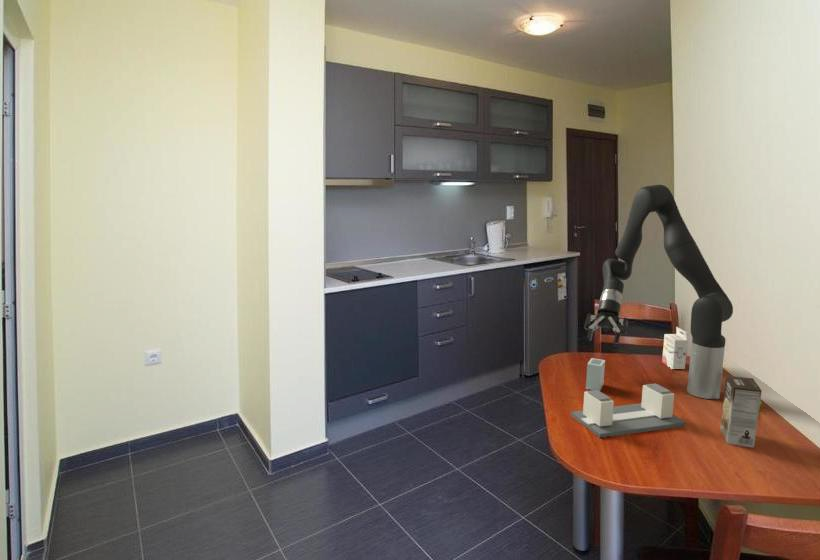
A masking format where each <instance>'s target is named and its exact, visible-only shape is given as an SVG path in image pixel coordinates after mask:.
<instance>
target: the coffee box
mask: <svg viewBox="0 0 820 560" xmlns="http://www.w3.org/2000/svg"><path fill="white" fill-rule="evenodd" d="M724 387H725V388H724V393H723V395H724V396H723V403H722V412H721V419H720V420H721V421H720V430H721V433H722V435H723V437H724V439H725V442H726V443H727V444H728V445H734V446H740V447H747V448H752V449H754V448H755V443H756V437H757V427H758V422H759V421H758V420H759V415H760V414H759V413H760V406H761V401H762V400H761V399H762V392H763V391H762V389H761V388H760V386H759V384H758V383H757V382H756V380H755V379H754V378H752V377H743V376H742V377H741V376H731V375H726V379H725V386H724Z"/></svg>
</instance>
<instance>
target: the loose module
mask: <svg viewBox="0 0 820 560" xmlns="http://www.w3.org/2000/svg"><path fill="white" fill-rule="evenodd" d="M605 366H606V360H605V359H601V358H594V357H590V360H589V361H588V362H587V365H586V377H585V378H586V381H585V382H586V383H585V389H586V390H588V389H590V390H589V391H592V390H598V391H600V392H601V390H602V389H603V386H604V380H605V378H604V377H605V368H606V367H605Z"/></svg>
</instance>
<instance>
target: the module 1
mask: <svg viewBox="0 0 820 560" xmlns="http://www.w3.org/2000/svg"><path fill="white" fill-rule="evenodd" d="M613 407H615V401H614V400H612V399H611V397H610V396H608V395H607V394H605V393H603V392H601V390H600V391H598V390H587V391H584V392H583V406H582V410H583V415H585V416H586V417H587V418H589V419H590V420H591V421H593V422H594V423H595V424H597V425H598V426H608V425H612V420H613Z"/></svg>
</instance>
